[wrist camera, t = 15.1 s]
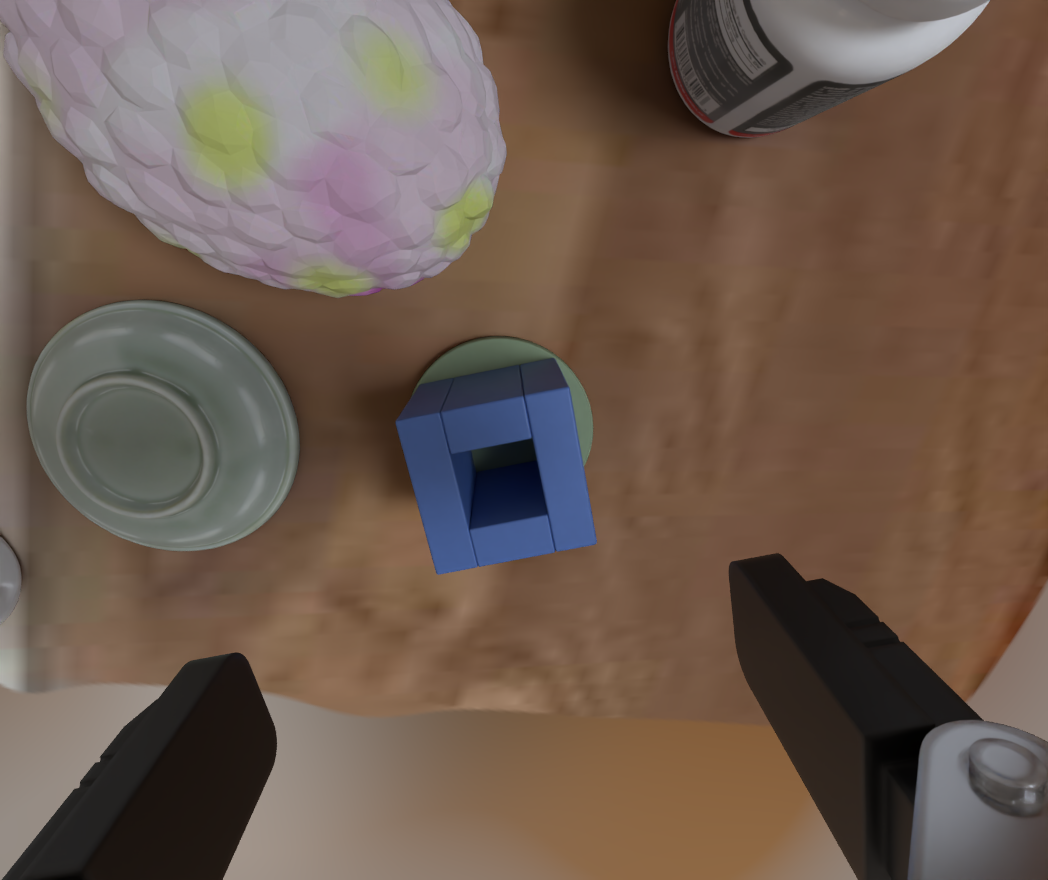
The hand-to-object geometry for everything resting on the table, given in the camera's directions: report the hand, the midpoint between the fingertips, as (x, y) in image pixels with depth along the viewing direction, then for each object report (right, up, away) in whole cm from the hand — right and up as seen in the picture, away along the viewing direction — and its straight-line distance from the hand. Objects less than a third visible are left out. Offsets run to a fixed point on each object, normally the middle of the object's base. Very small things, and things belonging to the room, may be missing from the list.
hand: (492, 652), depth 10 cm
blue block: (0, +4, +12) cm, 13 cm away
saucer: (-13, +3, +10) cm, 16 cm away
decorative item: (-6, +14, +10) cm, 18 cm away
